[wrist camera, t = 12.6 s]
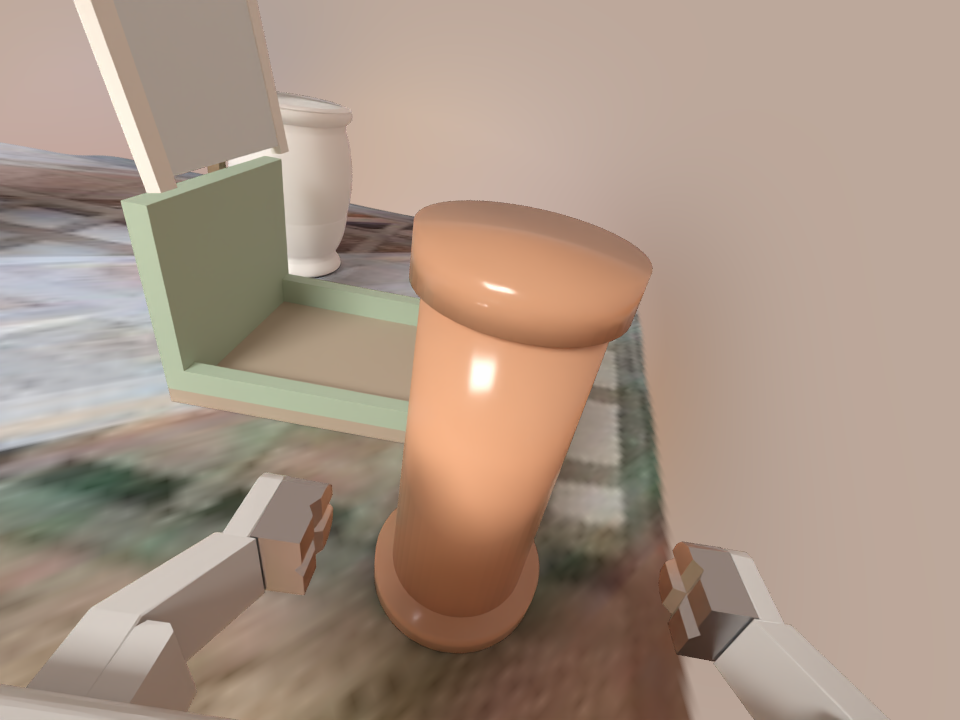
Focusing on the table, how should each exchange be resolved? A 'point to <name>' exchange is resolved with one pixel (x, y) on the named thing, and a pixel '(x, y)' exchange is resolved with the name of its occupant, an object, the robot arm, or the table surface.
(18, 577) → the table surface
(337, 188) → the jar
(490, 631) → the terracotta round disc
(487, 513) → the orange-brown capped cylinder
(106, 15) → the lid
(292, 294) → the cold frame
